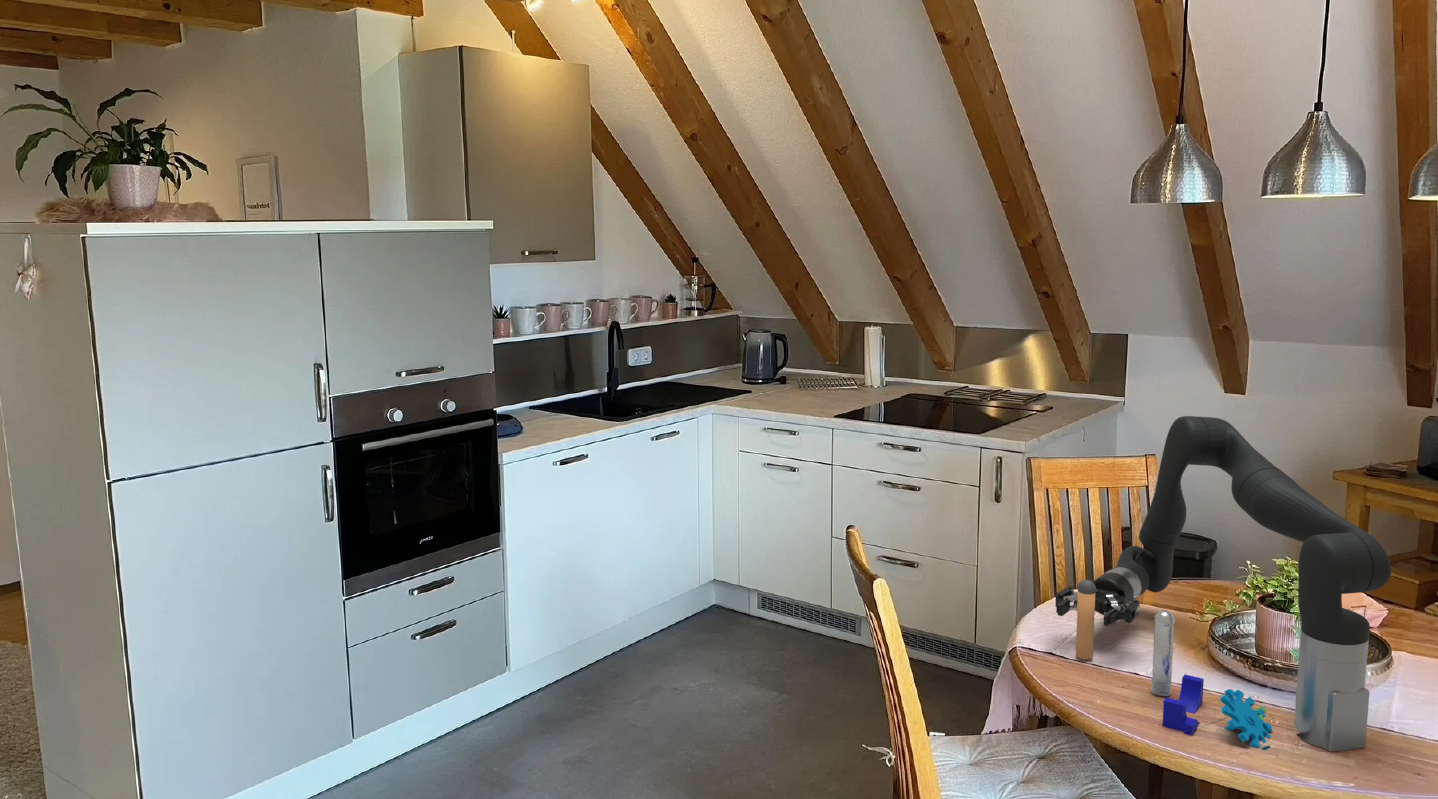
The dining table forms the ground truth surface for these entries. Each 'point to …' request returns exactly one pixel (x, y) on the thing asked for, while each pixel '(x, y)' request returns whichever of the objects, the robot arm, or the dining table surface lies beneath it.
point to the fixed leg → (1163, 653)
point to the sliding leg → (1085, 619)
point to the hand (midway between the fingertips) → (1082, 615)
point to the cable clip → (1184, 706)
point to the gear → (1245, 718)
